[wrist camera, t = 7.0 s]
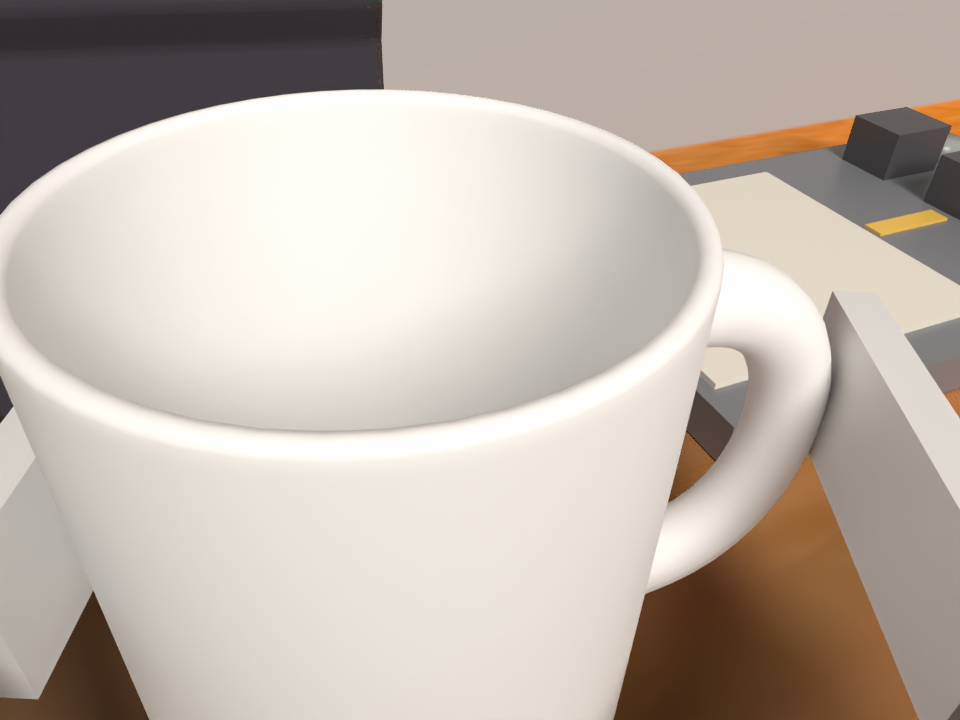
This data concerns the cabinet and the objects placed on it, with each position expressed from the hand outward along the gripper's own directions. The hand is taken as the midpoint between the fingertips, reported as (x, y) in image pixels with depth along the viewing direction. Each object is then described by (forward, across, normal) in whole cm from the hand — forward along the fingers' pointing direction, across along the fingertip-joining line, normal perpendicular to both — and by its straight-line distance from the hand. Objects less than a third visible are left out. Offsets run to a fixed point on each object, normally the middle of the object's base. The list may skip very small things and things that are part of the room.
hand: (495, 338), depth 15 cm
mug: (-3, 0, -6) cm, 7 cm away
